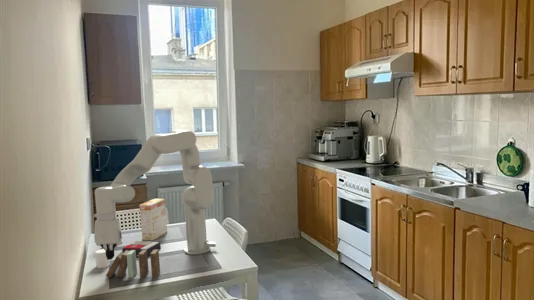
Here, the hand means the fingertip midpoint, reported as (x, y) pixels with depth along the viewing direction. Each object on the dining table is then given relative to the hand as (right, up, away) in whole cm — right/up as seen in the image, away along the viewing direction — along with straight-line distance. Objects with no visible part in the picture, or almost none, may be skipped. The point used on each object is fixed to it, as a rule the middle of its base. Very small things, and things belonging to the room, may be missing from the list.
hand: (110, 258), depth 176 cm
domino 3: (+9, -7, 0) cm, 12 cm away
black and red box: (+4, -5, +30) cm, 31 cm away
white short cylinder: (-8, -7, +13) cm, 17 cm away
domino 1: (0, -7, +1) cm, 7 cm away
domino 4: (+14, -7, 0) cm, 16 cm away
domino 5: (+19, -7, 0) cm, 20 cm away
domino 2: (+4, -7, +1) cm, 8 cm away
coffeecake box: (+4, -2, +54) cm, 55 cm away
